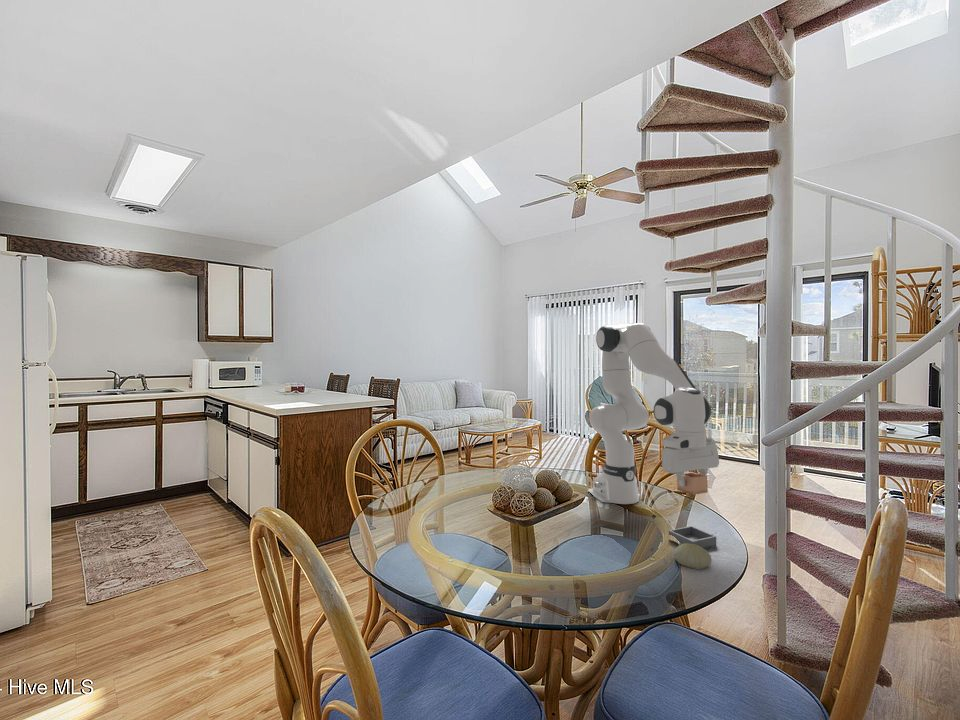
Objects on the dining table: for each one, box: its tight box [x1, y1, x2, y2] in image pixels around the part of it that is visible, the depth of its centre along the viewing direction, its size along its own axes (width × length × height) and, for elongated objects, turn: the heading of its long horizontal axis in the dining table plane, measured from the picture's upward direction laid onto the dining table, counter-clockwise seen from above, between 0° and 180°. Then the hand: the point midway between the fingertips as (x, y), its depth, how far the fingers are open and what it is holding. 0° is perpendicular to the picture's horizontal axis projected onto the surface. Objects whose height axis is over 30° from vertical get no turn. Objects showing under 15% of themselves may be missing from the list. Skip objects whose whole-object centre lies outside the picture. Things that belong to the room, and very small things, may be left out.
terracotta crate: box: [676, 471, 709, 496], centre depth 137 cm, size 6×6×5 cm
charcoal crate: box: [668, 525, 717, 550], centre depth 137 cm, size 9×9×3 cm
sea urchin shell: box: [674, 543, 713, 570], centre depth 123 cm, size 9×8×8 cm
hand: (692, 484), depth 137 cm, fingers closed on terracotta crate, 6 cm apart
